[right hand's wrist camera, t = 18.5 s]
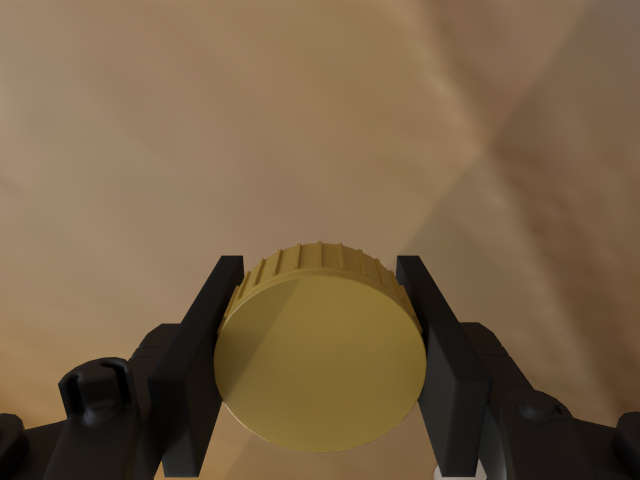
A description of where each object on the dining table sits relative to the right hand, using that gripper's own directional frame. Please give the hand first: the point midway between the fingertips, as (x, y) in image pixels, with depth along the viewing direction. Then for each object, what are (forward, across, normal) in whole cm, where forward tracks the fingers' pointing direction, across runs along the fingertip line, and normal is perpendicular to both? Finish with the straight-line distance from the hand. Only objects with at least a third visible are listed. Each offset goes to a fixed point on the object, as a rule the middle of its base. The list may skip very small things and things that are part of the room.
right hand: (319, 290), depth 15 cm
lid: (-4, 0, 0) cm, 4 cm away
